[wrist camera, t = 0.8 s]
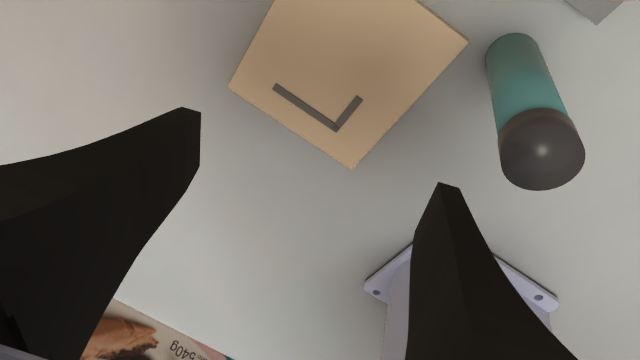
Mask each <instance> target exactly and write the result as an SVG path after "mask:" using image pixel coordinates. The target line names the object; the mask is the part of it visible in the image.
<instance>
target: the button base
mask: <svg viewBox="0 0 640 360" xmlns="http://www.w3.org/2000/svg"><path fill="white" fill-rule="evenodd" d="M566 1H568V2H569V3H570V4H571V5H572V6H574V7H575V8H576V9H577V10H578V11H580V12H581V13H582V14H583V15H584V16H586V17H587V18H588V19H589V20H590V21H592V22H593V23H594V24H595V25H596V26H597V25H598V24H599V23H600V22H601V21H602V20H603V19H604V18H606V17H607V16H608V15H609V14H610V13H611V12H612V11H613V10H614V9H616V8H617V7H618V6H619V5H620V4H621V3H622V2H623V1H617V0H566Z"/></svg>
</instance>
